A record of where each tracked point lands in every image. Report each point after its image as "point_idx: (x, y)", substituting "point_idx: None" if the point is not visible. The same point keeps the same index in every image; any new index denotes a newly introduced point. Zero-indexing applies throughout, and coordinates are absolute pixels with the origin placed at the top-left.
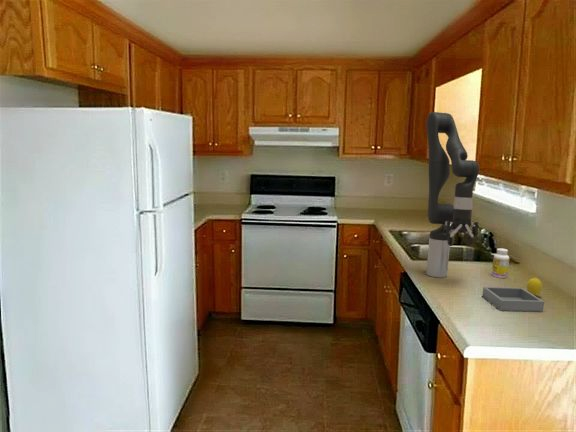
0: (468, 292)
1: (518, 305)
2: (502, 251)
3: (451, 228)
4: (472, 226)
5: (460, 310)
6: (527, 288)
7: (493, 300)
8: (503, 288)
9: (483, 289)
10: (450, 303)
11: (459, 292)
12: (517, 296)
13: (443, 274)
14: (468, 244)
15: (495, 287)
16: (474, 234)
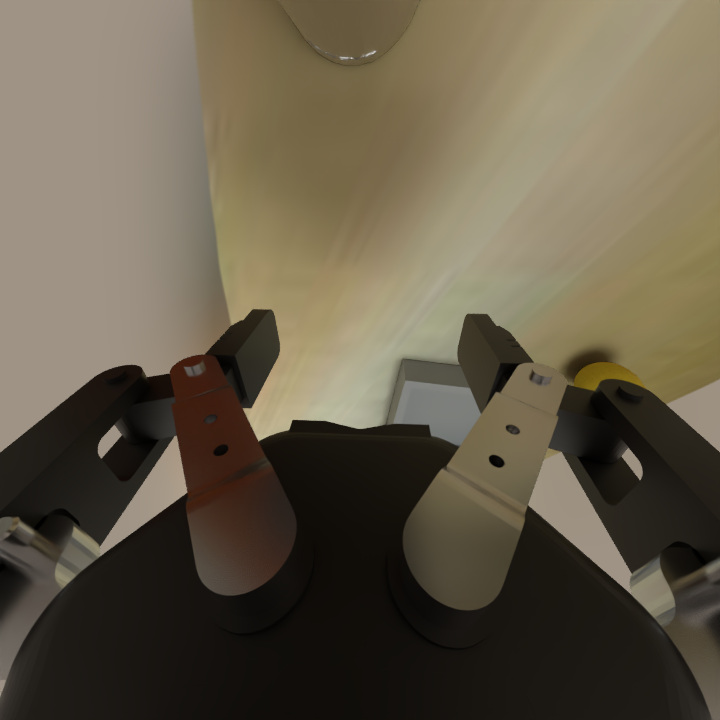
0: (378, 321)
1: None
2: None
3: (176, 430)
4: (640, 572)
5: (285, 430)
6: (580, 381)
7: (389, 421)
8: (470, 394)
9: (404, 377)
10: (275, 396)
11: (343, 319)
12: None
13: (369, 56)
14: (464, 340)
15: (447, 387)
16: (571, 442)
